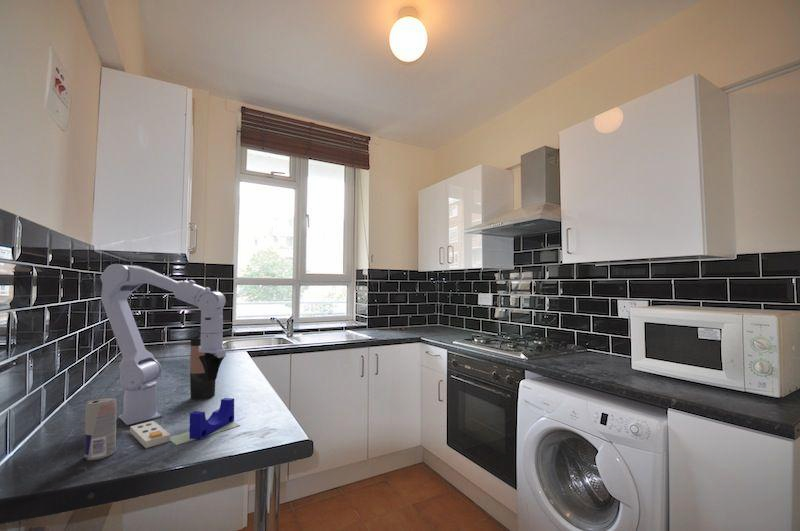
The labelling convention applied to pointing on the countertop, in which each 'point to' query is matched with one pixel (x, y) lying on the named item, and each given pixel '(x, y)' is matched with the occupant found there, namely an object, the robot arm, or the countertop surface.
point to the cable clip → (211, 419)
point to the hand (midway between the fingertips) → (211, 379)
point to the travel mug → (199, 374)
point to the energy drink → (100, 428)
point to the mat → (186, 438)
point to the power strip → (150, 434)
